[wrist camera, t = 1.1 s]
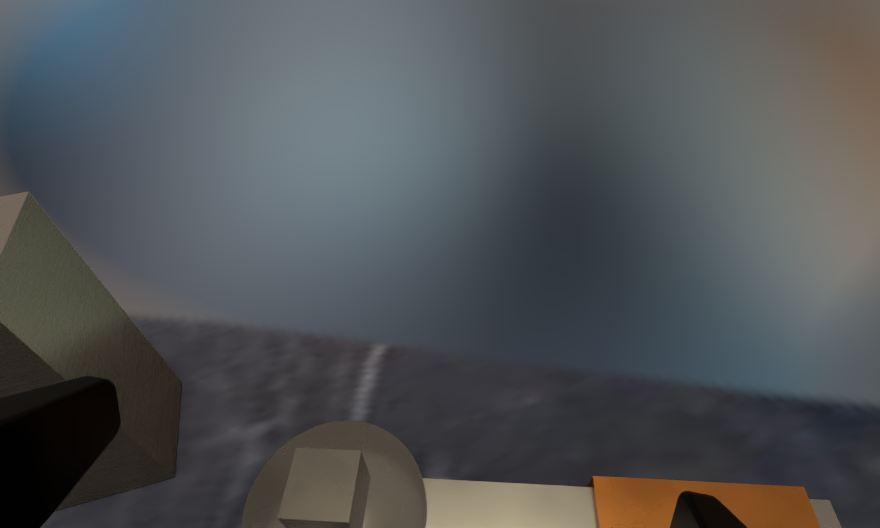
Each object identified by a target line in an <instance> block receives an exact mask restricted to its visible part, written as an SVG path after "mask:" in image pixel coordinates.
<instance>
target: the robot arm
mask: <svg viewBox="0 0 880 528" xmlns="http://www.w3.org/2000/svg"><path fill="white" fill-rule="evenodd" d="M120 425H121V418H120V411H119V405H118V399H117V392H116V387H115V385H114V383H113V382H112V381H110V380H109V379H105V378H99V377H94V376H83V377H79V378H75V379H71V380H68V381H64V382H60V383H56V384H52V385H48V386H44V387H40V388H37V389H33V390H29V391H25V392H21V393H17V394H13V395H9V396H6V397H2V398H0V528H40V527H41V526H42V525H43V524H44V523H45V522H46V520H47V519H48V518H49V517H50V516H51V515H52V514H53V512H54V511H55V510H56V509H57V508H58V507H59V505H60V504H61V503H62V502H63V501H64V499H65V498H66V497H67V496H68V494H69V493H70V492H71V491H72V489H73V488H74V487H75V486H76V485H77V483H78V482H79V481H80V480H81V478H82V477H83V476H84V475H85V474H86V472H87V471H88V470H89V469H90V467H91V466H92V465H93V464H94V463H95V461H96V460H97V459H98V458H99V456H100V455H101V454H102V453H103V452H104V450H105V449H106V448H107V447H108V445H109V444H110V443H111V442H112V441H113V439H114V438H115V437H116V435H117V433H118V431H119V429H120ZM670 528H747V527H746V526H745V525H744V524H743V523H742V522H741V521H740V520H739V519H738V518H737V517H736V516H735V515H734V514H733V513H732V512H731V511H730V510H729V509H728V508H727V507H725V506H724V505H723V504H722V503H721V502H720V501H719V500H718V499H717V498H715V497H714V496H711V495H707V494H702V493H697V492H691V491H684V492H682V493H681V494H680V495H679V497H678V499H677V503H676V507H675V510H674V514H673V517H672V521H671V525H670Z"/></svg>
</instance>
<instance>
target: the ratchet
mask: <svg viewBox="0 0 880 528" xmlns="http://www.w3.org/2000/svg"><path fill="white" fill-rule="evenodd" d="M684 491H691V492H697V493H702V494H707V495H711V496H714V497H715V498H717V499H718V500H719V501H720V502H721V503H722V504H723V505H724V506H725V507H727V508H728V509H729V510H730V511H731V512H732V513H733V514H734V515H735V516H736V517H737V518H738V519H739V520H740V521H741V522H742V523H743V524H744V525H745V526H746V527H747V528H841V526H840V523H839V521H838V519H837V516H836V514H835V512H834V510H833V507H832V505H831V503H830V501H829V500H816V499H809V498H808V496H807V493H806V491H805V488H804V487H793V486H774V485H755V484H736V483H717V482H698V481H679V480H660V479H641V478H621V477H602V476H593V477H592V479H591V481H590V483H589V485H588V487H575V486H556V485H538V484H519V483H501V482H482V481H463V480H445V479H426V478H422V475H421V472H420V470H419V467H418V465H417V463H416V461H415V459H414V457H413V456H412V454H411V453H410V452H409V450H408V449H407V448H406V446H405V445H404V444H403V443H402V442H401V441H400V440H399V439H397V438H396V437H395V436H393V435H392V434H391V433H389V432H387V431H386V430H384V429H382V428H380V427H377V426H375V425H372V424H368V423H364V422H358V421H337V422H330V423H326V424H322V425H319V426H316V427H314V428H311V429H309V430H307V431H305V432H303V433H301V434H299V435H297V436H296V437H294V438H293V439H291V440H290V441H288V442H287V443H286V444H285V445H284V446H282V447H281V448H280V449H279V450H278V451H277V452H276V453H275V454H274V455H273V456H272V457H271V458H270V459H269V461H268V462H267V463H266V464H265V466H264V467H263V468H262V470H261V471H260V473H259V474H258V476H257V478H256V479H255V481H254V483H253V485H252V487H251V489H250V492H249V495H248V497H247V500H246V503H245V507H244V511H243V515H242V523H241V528H670V525H671V521H672V517H673V514H674V510H675V507H676V503H677V499H678V497H679V495H680V494H681V493H682V492H684Z"/></svg>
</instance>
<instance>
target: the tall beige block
mask: <svg viewBox="0 0 880 528" xmlns="http://www.w3.org/2000/svg"><path fill="white" fill-rule="evenodd" d="M83 376H94V377H99V378H105V379H109V380H110V381H112V382H113V383H114V385H115V387H116V392H117V399H118V405H119V411H120V418H121V425H120V429H119V431H118V433H117V435H116V437H115V438H114V439H113V441H112V442H111V443H110V444H109V445H108V447H107V448H106V449H105V450H104V452H103V453H102V454H101V455H100V456H99V458H98V459H97V460H96V461H95V463H94V464H93V465H92V466H91V467H90V469H89V470H88V471H87V472H86V474H85V475H84V476H83V477H82V478H81V480H80V481H79V482H78V483H77V485H76V486H75V487H74V488H73V489H72V491H71V492H70V493H69V494H68V496H67V497H66V498H65V499H64V501H63V502H62V503H61V504H60V505H59V507H58V508H57V509H56V510H55V511H57V510H60V509H64V508H67V507H71V506H74V505H78V504H81V503H85V502H88V501H92V500H95V499H99V498H103V497H106V496H110V495H113V494H117V493H120V492H124V491H127V490H131V489H134V488H138V487H141V486H145V485H148V484H152V483H155V482H159V481H163V480H166V479H170V478H173V477H175V468H176V454H177V441H178V427H179V414H180V400H181V387H182V382H181V381H180V380H179V378H178V377H177V376H176V375H175V373H174V372H173V371H172V370H171V368H170V367H169V366H168V365H167V363H166V362H165V361H164V360H163V358H162V357H161V356H160V355H159V353H158V352H157V351H156V350H155V348H154V347H153V346H152V345H151V343H150V342H149V341H148V340H147V338H146V337H145V336H144V335H143V334H142V332H141V331H140V330H139V329H138V327H137V326H136V325H135V324H134V322H133V321H132V320H131V319H130V317H129V316H128V315H127V314H126V312H125V311H124V310H123V309H122V307H121V306H120V305H119V304H118V302H117V301H116V300H115V299H114V297H113V296H112V295H111V294H110V292H109V291H108V290H107V289H106V287H105V286H104V285H103V284H102V282H101V281H100V280H99V279H98V277H97V276H96V275H95V274H94V272H93V271H92V270H91V269H90V267H89V266H88V265H87V264H86V262H85V261H84V260H83V259H82V257H81V256H80V255H79V254H78V253H77V251H76V250H75V249H74V248H73V246H72V245H71V244H70V242H69V241H68V240H67V239H66V238H65V236H64V235H63V234H62V233H61V231H60V230H59V229H58V228H57V226H56V225H55V224H54V223H53V222H52V220H51V219H50V218H49V216H48V215H47V214H46V213H45V211H44V210H43V209H42V208H41V206H40V205H39V204H38V203H37V201H36V200H35V199H34V198H33V196H32V195H31V194H30V193H29V192H24V193H19V194H13V195H8V196H2V197H0V398H2V397H6V396H9V395H13V394H17V393H21V392H25V391H29V390H33V389H37V388H40V387H44V386H48V385H52V384H56V383H60V382H64V381H68V380H71V379H75V378H79V377H83Z"/></svg>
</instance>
